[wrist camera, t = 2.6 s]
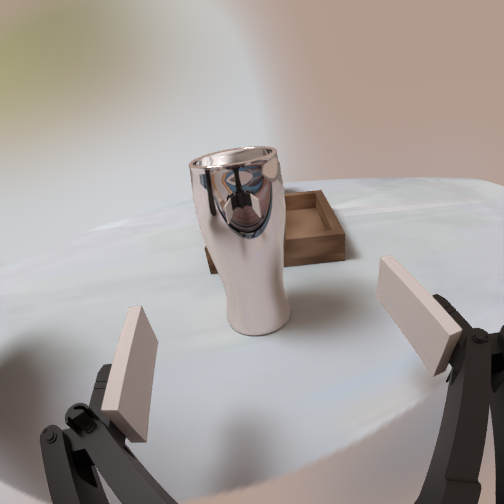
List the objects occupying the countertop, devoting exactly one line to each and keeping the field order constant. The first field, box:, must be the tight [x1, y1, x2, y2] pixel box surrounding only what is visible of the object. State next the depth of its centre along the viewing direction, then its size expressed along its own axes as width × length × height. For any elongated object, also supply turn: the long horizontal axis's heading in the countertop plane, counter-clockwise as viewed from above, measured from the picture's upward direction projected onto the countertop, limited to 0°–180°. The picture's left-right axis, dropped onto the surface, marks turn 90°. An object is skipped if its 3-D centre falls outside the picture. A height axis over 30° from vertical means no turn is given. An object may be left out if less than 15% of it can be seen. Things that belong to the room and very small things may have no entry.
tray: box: [205, 190, 345, 274], centre depth 41 cm, size 16×16×4 cm
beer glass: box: [189, 146, 291, 336], centre depth 25 cm, size 7×7×15 cm
